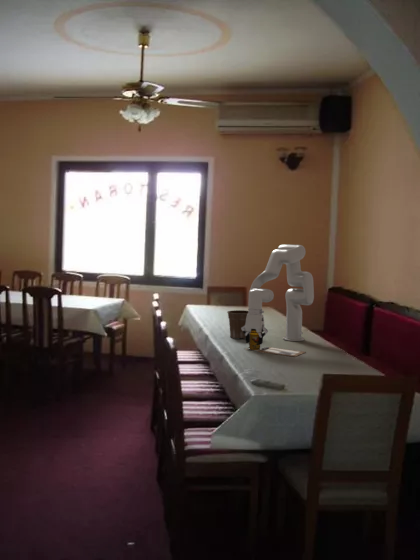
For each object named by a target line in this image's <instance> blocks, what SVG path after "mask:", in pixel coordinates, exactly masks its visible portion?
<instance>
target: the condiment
mask: <svg viewBox="0 0 420 560" xmlns="http://www.w3.org/2000/svg"><path fill="white" fill-rule="evenodd" d="M259 337H260V336H259V334H258V333H257V332H256V329H251V332H250V342H249V345H248V347H246V348H244V350H248V351H253V350H254V351H255V350H256V351H255V352H258V351H260V350H262V347H261V345H259ZM247 348H250V350H249V349H247Z"/></svg>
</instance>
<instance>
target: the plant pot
mask: <svg viewBox="0 0 420 560" xmlns="http://www.w3.org/2000/svg"><path fill="white" fill-rule="evenodd" d="M226 313H227V317H228V323H229V325H228V326H229V336H230V338H231V337H232V338H231V339H234V338H241V339H244V340H246V339H245V338H246V336H245V334H244V333H243V331H242V329H241V328H242V327H243V326H244V325H245V324H246V317H247V314H248V310H235V309H234V310H228V311H227V312H226ZM249 335H250V334H249Z"/></svg>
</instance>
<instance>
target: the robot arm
mask: <svg viewBox="0 0 420 560" xmlns="http://www.w3.org/2000/svg"><path fill="white" fill-rule="evenodd" d="M270 253H271V254H270V255H269V258H268V262H267V264H266V266H265V269H264V271H263V272H261V273H260V274H258V275H257V277H255V278H254V279H253V281H252V283H251V286H250V289H249V291H248V304H247V305H248V307H247V309H248V310H247V311H248V314H247V317H246V324H245V325H244V326H243V327H242V328H241V329H242V331H243V333H244V334H245V336H246V339H245V344H248V343H249V342H250V335H249V334H250V332H251V329H256V332H257V333H258V334H259V336H260V337H259V345H260V346H261V345H262V344H263V343H264V337H265V336H266V335H267V334H268V332H269V330H268V329H267V328H266V327H265V318H264V313H265V311H264V310H263V303H269V302H272V301H273V300H274V297H275V295H274V294H275V293H274V291H273V290H271V289H269V288H261V287H262V286H263V285H264V284H265V283H267V282H269V281H272V280H275V279H277V278H278V277H279V275H280V272H281V270H282V268H283V265H285V267H286V280H287V284H288V285H289V286H290V287H292V288H288V289H287V290H286V292H285V294H284V295H285V303H286V317H285V318H286V319H285V321H286V323H285V336H283V337H282V340H284V341H288V342H289V341H290V342H302V341H304V340H305V337H302V335H303V326H302V325H303V310H302V306H301V305H303V306H311V305H312V304H313V303H314V299H315V291H314V290H315V289H314V277H313V275H312V273H311V272H309V271H302V269H301V268H302V267H301V260H303V259H304V257H305V256H306V254H307V253H306V248H305V246H303V245H302V244H289V243H287V244H280V245H279V246H277V249H276V248H275V249H273V250H272V251H271V252H270Z"/></svg>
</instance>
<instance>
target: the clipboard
mask: <svg viewBox="0 0 420 560" xmlns="http://www.w3.org/2000/svg"><path fill="white" fill-rule="evenodd" d="M257 352H258V353H261V354H262V353H264V354H269V355H276V356H277V355H278V356H285V357H291V358H292V357H293V358H296V357H298V356H301V355H303V354H305V353H307V352H306V351H302V350H295V349H287V348H281V347H272V346H264V347H261V350H259V351H257Z"/></svg>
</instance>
